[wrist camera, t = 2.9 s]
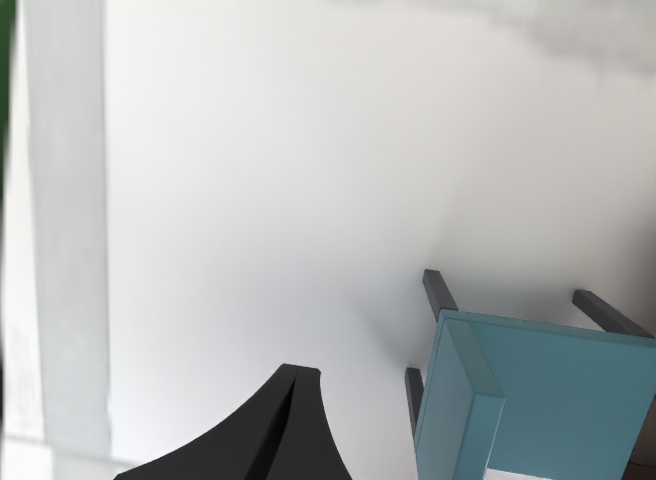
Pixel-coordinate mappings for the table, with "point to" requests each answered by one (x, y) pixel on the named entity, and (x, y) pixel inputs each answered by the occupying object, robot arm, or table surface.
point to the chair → (529, 393)
